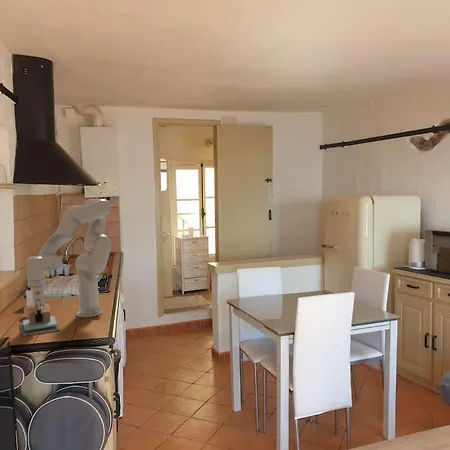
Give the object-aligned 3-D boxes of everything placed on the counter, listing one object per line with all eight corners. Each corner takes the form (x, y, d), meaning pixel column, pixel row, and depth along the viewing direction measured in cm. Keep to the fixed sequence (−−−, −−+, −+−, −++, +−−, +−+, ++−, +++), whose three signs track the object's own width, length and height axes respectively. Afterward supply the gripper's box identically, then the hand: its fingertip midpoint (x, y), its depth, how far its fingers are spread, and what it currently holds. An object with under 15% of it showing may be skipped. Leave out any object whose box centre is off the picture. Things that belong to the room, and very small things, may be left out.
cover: (57, 326, 211) (56, 313, 211) (24, 331, 205) (23, 318, 205) (53, 317, 224) (53, 306, 223) (23, 322, 218) (22, 310, 217)
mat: (59, 330, 209) (59, 329, 209) (21, 336, 202) (21, 335, 202) (54, 319, 227) (54, 317, 227) (19, 324, 220) (19, 323, 220)
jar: (23, 306, 251) (22, 285, 249) (34, 302, 258) (33, 281, 257) (36, 307, 247) (34, 286, 246) (47, 303, 255) (45, 283, 254)
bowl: (54, 315, 234) (54, 305, 234) (33, 321, 224) (32, 311, 224) (40, 311, 241) (40, 302, 240) (19, 317, 231) (19, 307, 231)
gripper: (46, 285, 206) (49, 324, 208) (43, 278, 221) (45, 314, 223) (28, 287, 203) (31, 327, 205) (26, 280, 218) (29, 316, 220)
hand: (38, 320), depth 214 cm, fingers open, 4 cm apart
